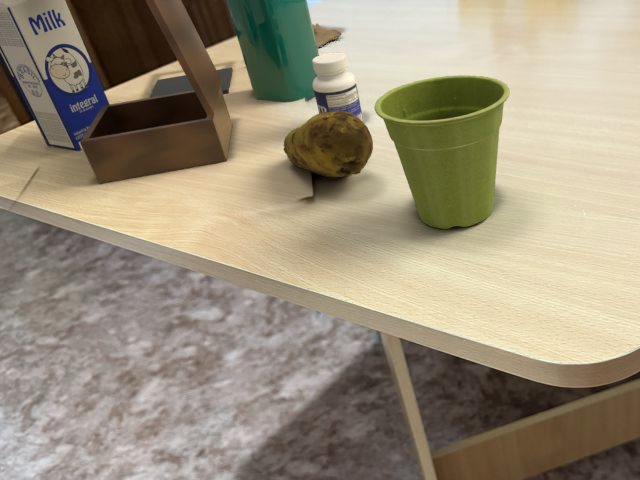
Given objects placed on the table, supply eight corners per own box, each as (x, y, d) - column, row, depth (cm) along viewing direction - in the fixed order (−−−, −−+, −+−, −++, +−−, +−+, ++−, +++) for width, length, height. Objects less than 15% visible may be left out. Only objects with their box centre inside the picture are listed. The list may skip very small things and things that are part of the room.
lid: (128, -31, 68) (179, -50, 68) (147, -50, 78) (192, -67, 77) (207, 116, 78) (252, 100, 77) (216, 83, 87) (256, 68, 87)
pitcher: (332, 87, 101) (293, -89, 87) (296, 108, 95) (248, -77, 82) (280, 83, 105) (235, -86, 91) (243, 103, 99) (189, -74, 86)
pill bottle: (321, 127, 88) (304, 55, 83) (361, 119, 89) (346, 47, 84) (327, 142, 84) (309, 67, 79) (368, 133, 85) (354, 58, 80)
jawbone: (352, 34, 125) (350, 22, 124) (296, 73, 111) (293, 60, 109) (308, 30, 127) (306, 18, 126) (247, 68, 113) (244, 55, 112)
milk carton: (92, 131, 97) (20, -29, 84) (124, 135, 94) (54, -29, 81) (48, 151, 92) (-35, -14, 79) (80, 157, 89) (-1, -14, 77)
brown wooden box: (102, 190, 80) (79, 142, 76) (121, 149, 90) (102, 105, 86) (228, 167, 81) (212, 119, 78) (234, 129, 91) (220, 85, 88)
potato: (355, 149, 82) (340, 81, 77) (389, 190, 72) (375, 115, 67) (286, 167, 80) (267, 98, 75) (312, 212, 70) (292, 136, 65)
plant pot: (532, 189, 69) (526, 74, 62) (493, 249, 61) (482, 124, 54) (425, 181, 73) (408, 72, 66) (374, 237, 65) (349, 119, 58)
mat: (147, 106, 103) (146, 103, 102) (158, 82, 112) (157, 79, 112) (228, 93, 104) (227, 89, 104) (232, 70, 113) (231, 67, 113)
